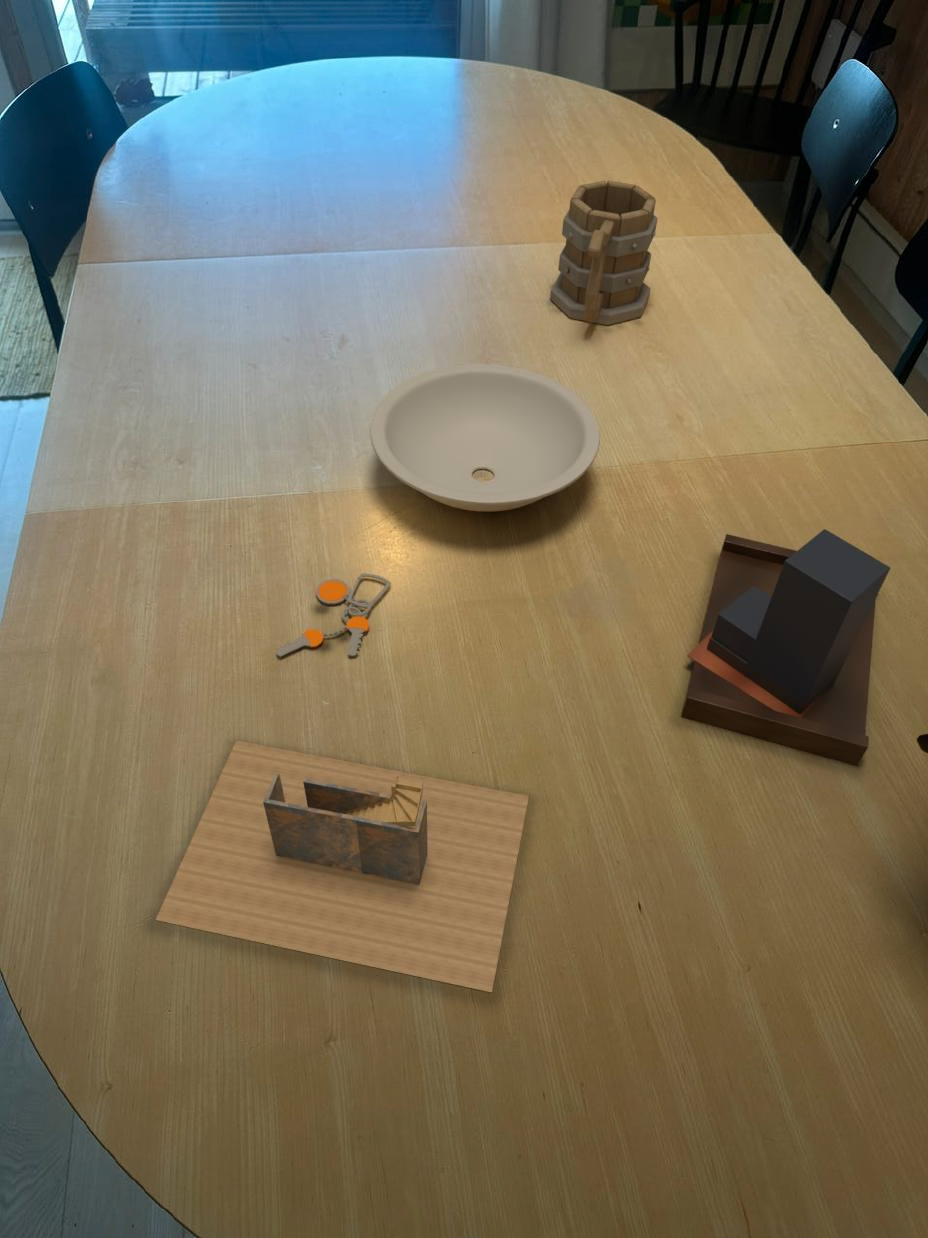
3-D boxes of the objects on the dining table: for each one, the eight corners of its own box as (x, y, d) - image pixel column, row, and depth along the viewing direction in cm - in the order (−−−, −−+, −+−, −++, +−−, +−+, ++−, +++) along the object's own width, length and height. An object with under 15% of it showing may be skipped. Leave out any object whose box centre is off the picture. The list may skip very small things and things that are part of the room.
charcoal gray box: (835, 680, 85) (891, 567, 75) (799, 714, 83) (852, 602, 72) (742, 618, 90) (782, 503, 80) (706, 648, 88) (742, 534, 77)
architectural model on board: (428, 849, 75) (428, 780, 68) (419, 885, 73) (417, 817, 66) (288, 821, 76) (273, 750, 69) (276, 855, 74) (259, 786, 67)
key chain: (334, 565, 96) (334, 558, 95) (402, 586, 94) (402, 579, 93) (269, 655, 88) (268, 649, 87) (342, 680, 86) (341, 674, 85)
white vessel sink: (634, 513, 102) (644, 463, 98) (427, 579, 95) (427, 529, 90) (527, 392, 117) (532, 344, 112) (340, 442, 109) (336, 392, 105)
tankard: (566, 270, 138) (577, 162, 126) (653, 286, 135) (673, 177, 124) (527, 341, 125) (536, 228, 114) (624, 361, 122) (643, 246, 111)
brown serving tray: (872, 590, 95) (881, 570, 93) (857, 766, 81) (868, 747, 79) (712, 551, 99) (718, 531, 97) (672, 713, 85) (677, 694, 83)
